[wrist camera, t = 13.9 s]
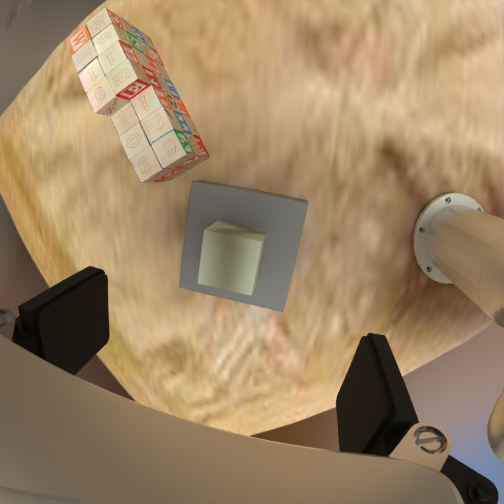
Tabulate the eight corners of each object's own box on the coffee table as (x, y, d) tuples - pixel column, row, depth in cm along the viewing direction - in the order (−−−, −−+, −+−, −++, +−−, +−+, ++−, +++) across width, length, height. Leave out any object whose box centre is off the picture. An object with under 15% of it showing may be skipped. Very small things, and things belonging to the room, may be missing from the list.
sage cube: (267, 229, 37) (261, 241, 31) (258, 276, 39) (251, 295, 33) (219, 219, 38) (204, 229, 32) (212, 266, 39) (197, 283, 34)
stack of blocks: (212, 157, 39) (175, 154, 27) (172, 179, 40) (125, 187, 29) (149, 37, 35) (104, 6, 23) (116, 61, 37) (65, 39, 25)
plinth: (307, 200, 38) (307, 203, 35) (284, 301, 42) (283, 311, 40) (199, 180, 40) (192, 181, 37) (186, 279, 44) (179, 287, 41)
